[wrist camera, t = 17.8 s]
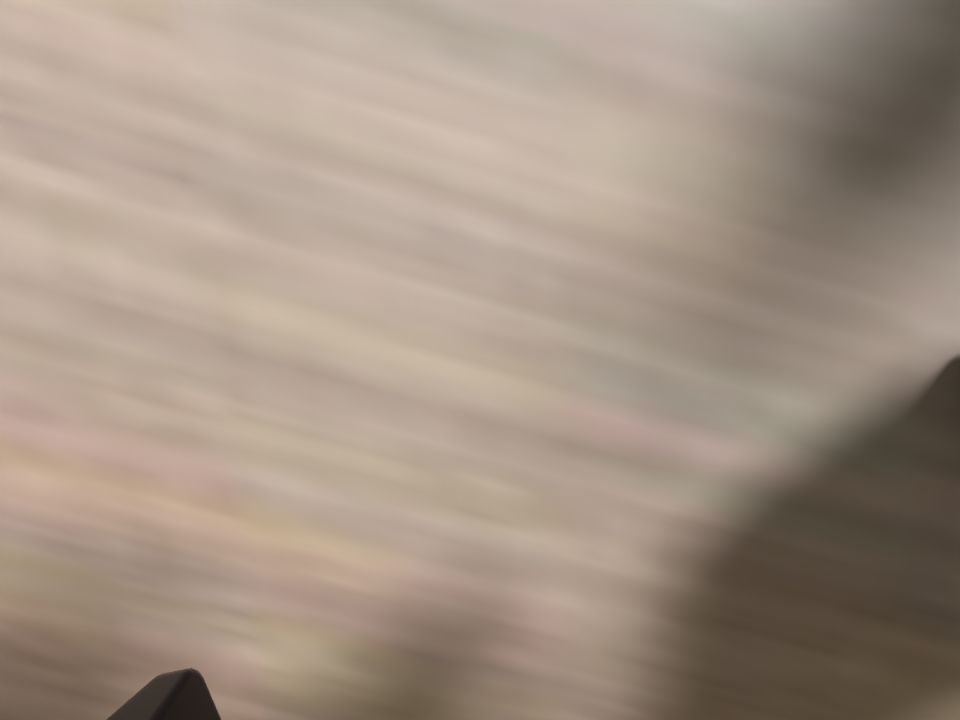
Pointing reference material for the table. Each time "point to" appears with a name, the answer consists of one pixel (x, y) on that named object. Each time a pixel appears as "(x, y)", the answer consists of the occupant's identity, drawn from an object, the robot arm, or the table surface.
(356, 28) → the table surface
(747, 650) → the table surface
